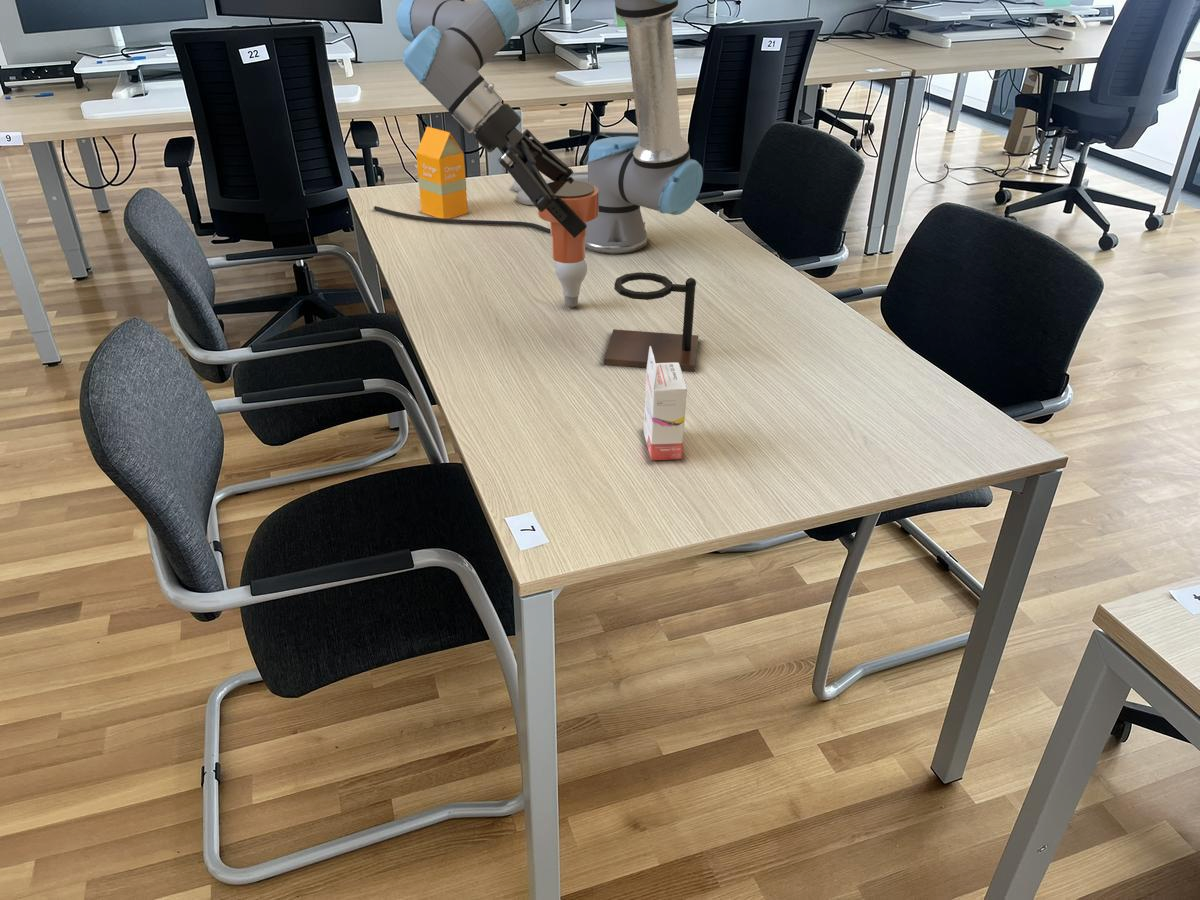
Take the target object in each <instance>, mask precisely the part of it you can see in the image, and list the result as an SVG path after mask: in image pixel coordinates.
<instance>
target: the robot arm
mask: <svg viewBox="0 0 1200 900" xmlns="http://www.w3.org/2000/svg"><path fill="white" fill-rule="evenodd" d="M547 1H548V0H401V2H400V4H399V5H398V8H397V11H396V24H397V27H398V31H399V32H400V34H401V36H402V37H403V38H404V39H405V40H406V41H408V42H409V43H410V44H409V45H408V46H407V48H406V49H405V51H404V53H403V55H402V62H403V65H404V66H405V67H406V68H407V69H408V71H409V72H410V73H411V75H413V77H414V78H415V79H416V80H417V81H418V83H419V85H422V86H423V87H424V88H425V89H426V90H427V91H428V92H429V93H430V94H431V95H432V96H433V97H434V98H435V100H437V101H438V103H440V104H441V105H442V106H443V107H444V109H446V111H448V112H449V114H450V115H451V117H453V118H454V119H455V120H456V121H457V123H459V125H460V126H461V127H462V128H463V129H464V130H465V131H466V132H467V133H468V134H472V133H473V134H474V136H473V137H474V139H475V141H476V142H477V143H478V144H479V145H480V146H481V147H482V148H483V149H484V150H485V151H486V152H487V153H492V152H494V150H495V149H498V151H500V153H501V154H502V155H501V156H500V157H499V158H498V159H497V160H498V163H499V164H500V165H501V166H502V167H503V168H504V169H505V170H506V171H507V172H508V173H509V174H510V176H511V177H512V178H513V180H514V181H516V182H517V183H518V184H519V186H520V187H521V188H522V189H523V191H524V192H525V193H526V195H527V196H528V197H529V198H530V200H531V201H532V202H533V203H534V205H533V206H535V208H537V211H538V210H539V211H541V212H543V211H544V210H545V209H547V210H548V211H549V212H550V213H551V214H552V215H553V216H554V217H555V218H556V219H557V220H558V222H559V223H560V224H561V225H562V226H563V227H564V228H565V229H566V230H567V231H568V232H569V233H570V234H571V235H572V236H573V237H574V238H575V237H576V236H578V235H579V234H580V233H581V232H582V231H583V230H584V229H585V228H586V236H585V249H587V250H589V251H591V252H595V253H596V252H597V253H600V254H601V253H602V254H609V255H611V254H615V255H616V254H628V253H634V252H637V251H640V250H643V248H645V247H646V246H647V245H648V232H647V230H646V221H644V220H643V215H642V212H641V207H643V208H646V209H650V210H653V211H657V212H659V213H660V214H663V215H664V214H667V215H671V216H679V215H682V214H684V213H685V212H687V211H688V210H690V208H691V207H693V205H694V203H695V202H696V201H697V199H698V196H699V194H700V192H701V190H702V189H701V188H702V186H703V181H704V171H703V167H702V165H701V164H700V163H699V161H697V160H696V159H693V158H691V154H690V144H689V142H688V140H686V139H684V138H683V137H682V134H681V123H680V110H679V98H678V97H679V96H678V87H677V86H678V85H677V74H676V72H677V71H676V61H675V60H676V59H675V49H674V48H675V47H674V36H673V35H674V34H673V24H672V15H673V14H674V13H675V11H676V10H677V8H678V7H679V0H614V6H615V14H616V16H617V17H618V18H619V19H621V20H622V21H623V22H624V23H625V32H626V40H627V48H628V56H629V65H630V75H631V83H632V92H633V93H632V94H633V101H634V110H635V120H636V128H637V136H635V135H633V136H632V135H622V136H610V137H605V138H601V139H596V140H595V141H593V142H592V143H591V144H590V145H589V147H588V159H587V171H588V183H589V184H592V185H594V186H596V187H597V188H598V189H599V214H598V217H597V218H595V219H594V220H591V221H588V222H586V224H585V223H584V222H583V221H582V220H581V219H580V218H579V217H578V216H577V215H576V214H575V213H574V212H573V211H572V209H571V208H570V207H569V206H568V205H567V204H566V203H565V202H564V201H563V200H562V199H561V198H560V197H559V196H558V197H557V198H556V197H555V195H554V194H553V192H552V191H551V189H550V187H549V186H548V184H547V183H546V181H545V180H544V179H545V178H544V177H543V175H544V176H545V177H546V178H548V179H549V180H552V181H554V182H555V181H566V180H570V181H574V179H573V178H572V177H569V176H570V175H571V174H573V172H574V170H573V169H572V168H571V167H569V166H568V165H567V164H566V163H565V162H564V161H562V160H561V159H560V158H559V157H558V156H556V154H554V153H553V152H552V151H551V150H550V149H549V148H548V147H546V146H545V145H544V144H543V143H542V142H541V141H539V139H537V137H536V136H535V135H534V134H533V133H532V132H531V130H529V129H527V128H526V129H525V130H524V131H523V132H521V131H520V130H519V129H517V128H516V127H518V125H519V124H520V123H521V122H522V118H521V116H520V115H519V114H518V113H517V112H516V111H515V110H514V109H513V108H512V107H511V105H510V104H508V103H506V102H504V103H502V101H503V98H502V96H501V95H500V94H499V93H498V92H497V91H496V90H495V85H494V83H492V82H487V80H485V78H484V76H482V75H481V73H480V72H479V71H480V70H481V69H482V68H483V67H484V66H485V65H486V64H487V63H488V62H489V61H490V60H491V59H492V58H493V57H494V56H495V55H496V54H497V53H498V52H500V51H501V50H502V49H503V48H504V47H505V46H507V45H508V43H509V41H510V40H511V38H512V37H513V36H514V35H515V34H516V33H517V32H518V31H519V28H520V17H519V14H518V13H522V12H523V11H526V10H528V9H530V8H534V7H535V6H538V5H540V4H543V3H544V2H547ZM373 210H374V211H378V212H382V213H385V214H387V215H388V214H389V215H393V216H398V217H402V218H407V219H411V220H418V221H426V222H436V223H449V224H466V225H491V226H493V225H496V226H519V227H521V226H522V227H527V228H528V227H529V228H534V229H537V230H540V231H542V232H546V233H548V234H551V230H550V228H549V227H545V226H543V225H541V224H538V223H534V222H528V221H519V220H518V221H515V220H490V219H489V220H488V219H487V220H486V219H462V218H461V219H460V218H450V219H445V218H437V217H434V216H423V215H416V214H411V213H405V212H401V211H396V210H391V209H388V208H384V207H380V206H377V205H375V206H373Z"/></svg>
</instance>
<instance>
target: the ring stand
mask: <svg viewBox="0 0 1200 900" xmlns="http://www.w3.org/2000/svg"><path fill="white" fill-rule="evenodd" d="M638 280H639V281H641V280H642V281H652V282H656V283H658V284H661V285H662V286H664V287H662V288H660V289H658V290H653V291H652V290H651V291H637V290H632V289H628V288H626V287H624V286H623V285H624V284H626V283H628V282H633V281H638ZM696 286H697V280H696V279H695V278H693V277H689V278H686V280H685V284H681V283H680V284H679V283H673V281H671V280H670V279H669V277H667V276H665V275H661V274H658V273H655V272H643V271H642V272H641V271H638V272H631V273H625V274H623V275H621V276H618V277H617V278H616V279H615V281H614V287H613V288H614V291H615V292H617V294H619V296H623V297H625V298H629V299H632V300H643V301H650V300H657V299H663V298H664V297H667V296H668V295H670V294H672V292H673V293H685V294H684V309H683V310H684V311H683V324H682V334H683V338H682V350H684V351H690V350H691V341H692V335H693V326H694V325H693V324H694V311H695V298H696V297H695V296H696Z"/></svg>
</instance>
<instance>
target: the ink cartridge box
mask: <svg viewBox="0 0 1200 900" xmlns="http://www.w3.org/2000/svg"><path fill="white" fill-rule="evenodd" d="M651 362H652V363H651ZM645 371H646V374H645V393H644V394H645V395H644V415H643V435H644V439H645V444H646V447H647V450H648V454H649V458H650V461H669V460H682V459H683V448H684V436H685V435H684V432H685V421H686V420H685V419H686V408H687V407H686V406H687V394H688V387H687V383H686V380H685V378H684V374H683V372H682V371H681V368H680V365H679V363H655V359H654V355H653V351H652V348H651V346H650V348H649V355H648V362H647V368H646V370H645Z"/></svg>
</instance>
